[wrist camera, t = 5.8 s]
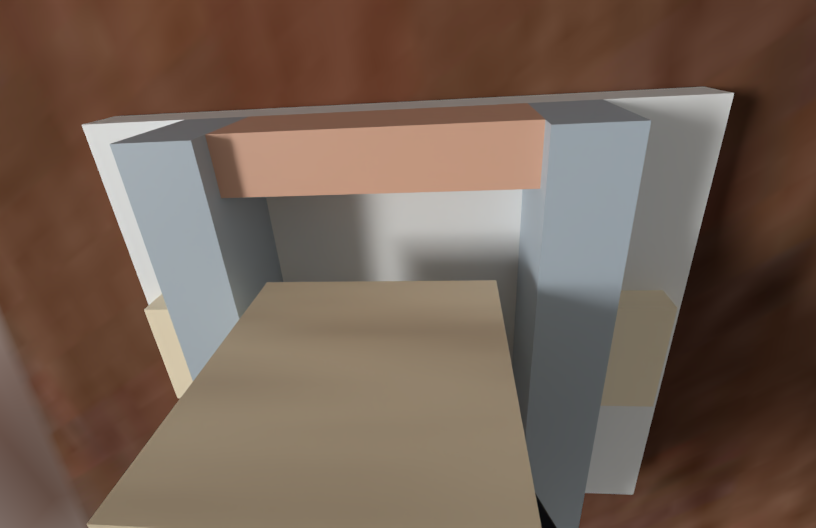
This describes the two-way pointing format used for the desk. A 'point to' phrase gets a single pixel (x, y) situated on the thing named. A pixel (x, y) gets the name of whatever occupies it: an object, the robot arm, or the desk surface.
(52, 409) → the desk surface
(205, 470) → the stepped cream block
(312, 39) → the desk surface
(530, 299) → the jig
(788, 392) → the desk surface
